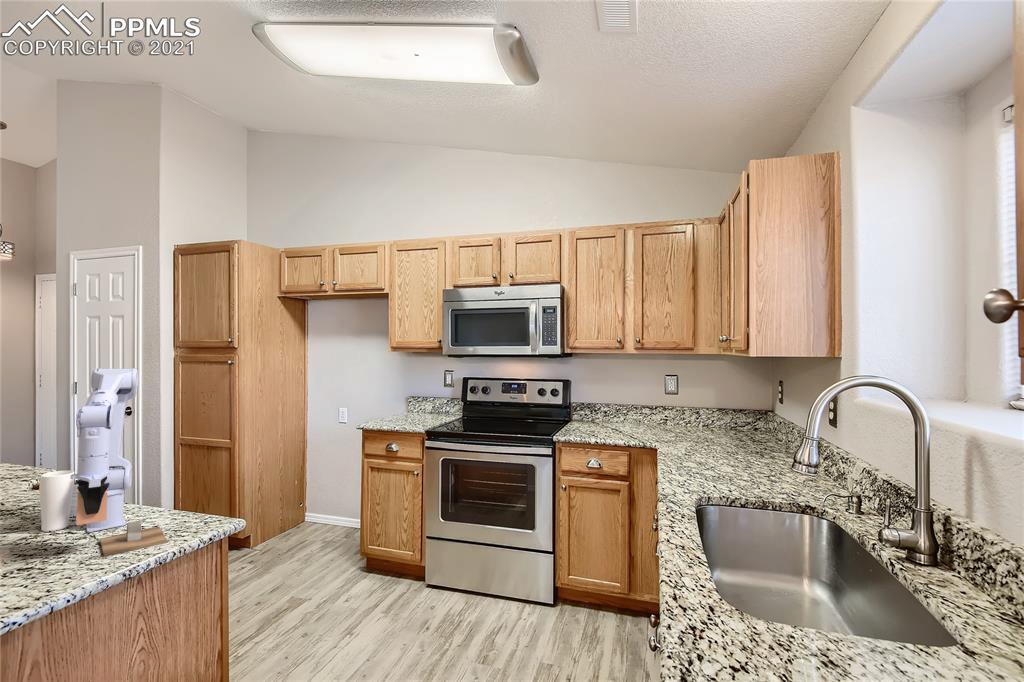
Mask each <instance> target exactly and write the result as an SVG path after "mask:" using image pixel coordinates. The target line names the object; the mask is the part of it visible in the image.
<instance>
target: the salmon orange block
mask: <svg viewBox="0 0 1024 682" xmlns="http://www.w3.org/2000/svg"><path fill="white" fill-rule="evenodd" d="M106 512H107V490H106V492H105V493H104V496H103V498H102V502H101V506H100V509H99V512H98V513H96V514H90V515H86V512H85V507H84V501H83V498H82V495H81V494H80V492H77V507H76V517H75V525H76V526H81V525H86V524H88V523H93V522H98V521H104V520H106Z"/></svg>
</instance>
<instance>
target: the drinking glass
mask: <svg viewBox="0 0 1024 682" xmlns="http://www.w3.org/2000/svg"><path fill="white" fill-rule="evenodd" d="M73 474H75V471H74V470H57V471H50V472H45V473H43V474H40V477H39V485H38V487H39V488H38V489H39V494H38V495H39V509H40V520H41V521H40V525H41V526H40V530H41V531H42V532H46V533H48V532H49V531H51V532H56V530H57V531H60V530H64V529H66V528H67V527H68V526H69V525H70V518H69V516H70V509H71V503H72V497H73V490H74V485H75V479H70V475H73ZM49 533H50V532H49Z"/></svg>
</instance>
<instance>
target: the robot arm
mask: <svg viewBox="0 0 1024 682" xmlns="http://www.w3.org/2000/svg"><path fill="white" fill-rule="evenodd" d="M90 377H91V378H90V385H91V388H92V393H90V395H89V397H88V399H87V401H86V403H85V405H84V406H82V408H81V407H80V408H78V409H77V411H76V416H75V424H76V425H75V426H76V437H77V438H78V448H77V449H78V450H77V470H76V471H77V472H76V473H74V474H73V475H70V479H77V480H76V485H77V484H78V485H79V486H77V489H78V491H79V492H80V494H81V495H82V498H83V501H84V507H85V512H86V515H90V514H96V513H98V512H99V509H100V506H101V502H102V498H103V496H104V493H105V492H106V490H107V512H106V520H104V521H98V522H93V523H88V524H85V526H86V532H87V533H92V532H96V531H97V532H98V531H102V530H106V529H107V530H108V529H112V528H117V527H118V528H119V527H125V526H127V521H126V520H125V517H124V507H125V506H124V505H125V491H128V490H129V488H131V487H132V482H133V481H132V479H133V470H132V469H133V465H132V462H131V461H130V460H128V459H126V458H124V457H122V455H121V453H122V444H123V435H124V433H123V432H124V424H125V415H126V407H127V405H128V402H129V400H130V401H131V399H134V398H136V397H137V393H138V387H139V386H138V384H139V370H138V369H137V368H135V367H133V368H99V367H97V368H96V367H95V368H94V369H93V370H92V372H91V376H90Z"/></svg>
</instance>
